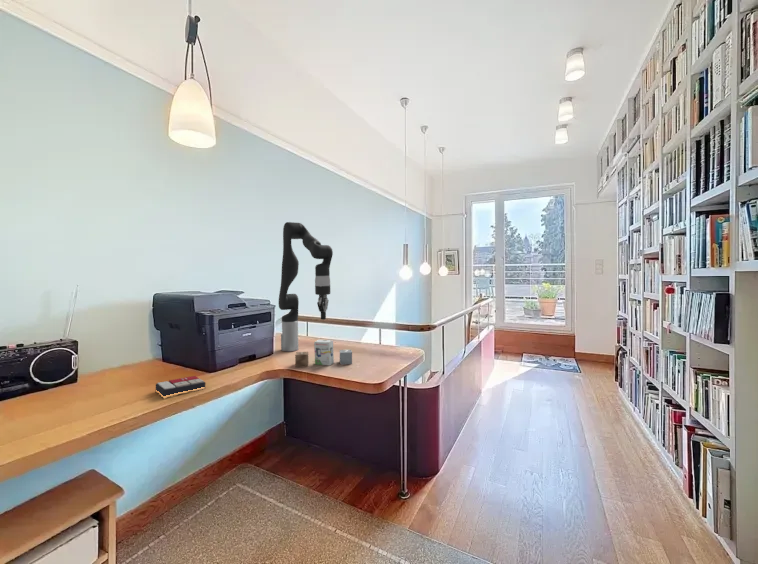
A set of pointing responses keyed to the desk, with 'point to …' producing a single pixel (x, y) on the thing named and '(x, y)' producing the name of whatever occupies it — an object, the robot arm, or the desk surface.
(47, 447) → the desk surface
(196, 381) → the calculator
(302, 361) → the numbered block one
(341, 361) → the numbered block seven
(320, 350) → the ink box
